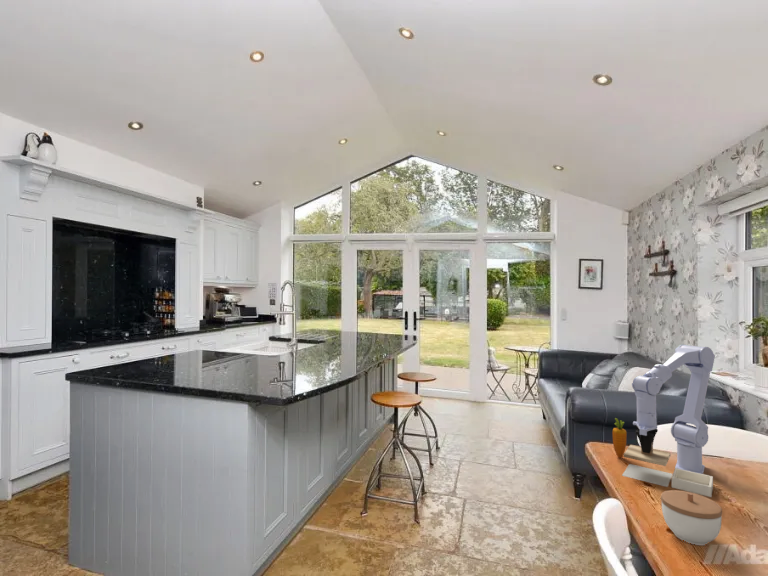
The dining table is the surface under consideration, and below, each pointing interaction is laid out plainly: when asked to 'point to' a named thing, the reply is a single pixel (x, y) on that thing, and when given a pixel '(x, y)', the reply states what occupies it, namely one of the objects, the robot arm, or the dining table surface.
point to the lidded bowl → (691, 516)
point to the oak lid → (647, 455)
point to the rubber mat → (647, 475)
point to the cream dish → (692, 482)
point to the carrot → (619, 438)
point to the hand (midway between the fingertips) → (647, 451)
